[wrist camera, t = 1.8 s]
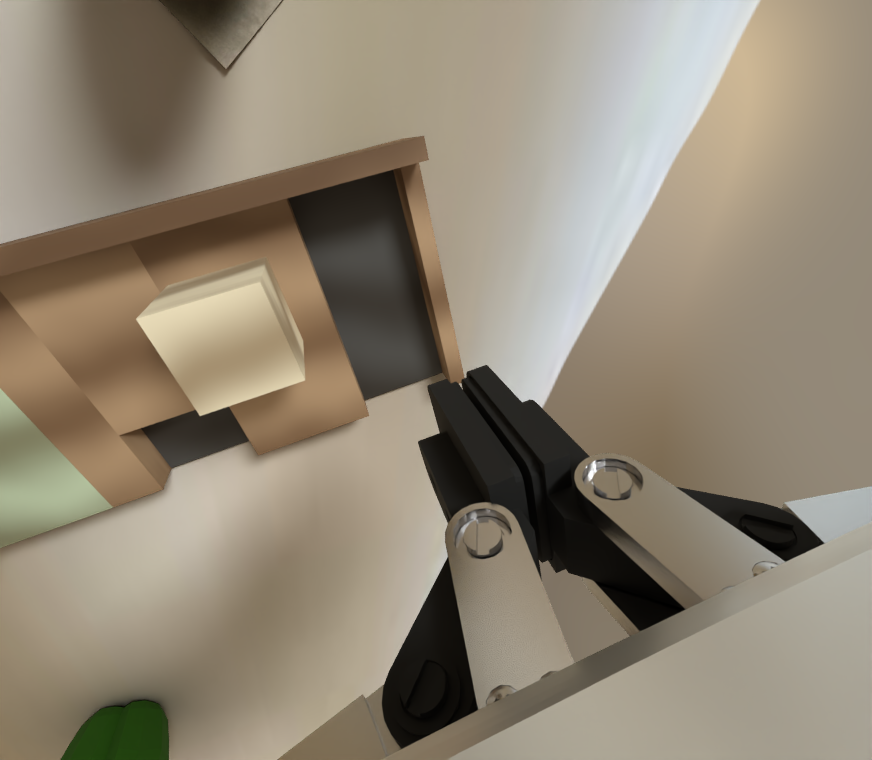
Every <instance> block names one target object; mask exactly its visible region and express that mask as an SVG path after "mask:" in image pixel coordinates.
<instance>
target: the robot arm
mask: <svg viewBox="0 0 872 760" xmlns="http://www.w3.org/2000/svg"><path fill="white" fill-rule="evenodd" d="M461 383H462V388H463V390H462V388H461V387H460V385H459V384H458V383H457V382H453V383H450V382H449V380H448V379H445V380H442V381H440V382H437V383H434V384H431V385H428V392H429V395H430V399H431V403H432V406H433V410H434V413H435V417H436V421H437V424H438V428H439V432H440V433H439V434H437V435H434V436H431V437H428V438H426V439H423V440H420V441H418V444H419V447H420V451H421V454H422V457H423V460H424V463H425V466H426V469H427V472H428V475H429V478H430V480H431V483H432V486H433V488H434V491H435V493H436V496H437V498H438V501H439V503H440V505H441V508H442V510H443V513H444V515H445V517H446V520H447V522H448V526H447V529H446V531H445V543H446V548H447V553H448V558H447V560H446V562H445V564H444V566H443V568H442V569H441V571H440V573H439V575H438V577H437V579H436V581H435V583H434V585H433V587H432V589H431V591H430V593H429V595H428V597H427V599H426V601H425V603H424V604H423V606H422V608H421V610H420V612H419V614H418V616H417V618H416V620H415V622H414V624H413V626H412V628H411V630H410V632H409V634H408V636H407V638H406V639H405V641H404V643H403V645H402V647H401V649H400V651H399V653H398V655H397V657H396V659H395V661H394V663H393V665H392V667H391V669H390V671H389V673H388V676H387V678H386V681H385V684H384V685H383V686H381V687H380V688H379V689H378V690H376V691H375V692H374V693H372V694H371V695H370V696H369V697H367V698H366V699H365V697H364V696H363V694H362V695H361V696H360V697H358V698H357V699H356V700H355V701H353V702H352V703H351V704H349V705H348V706H347V707H345V708H344V709H343V710H341V711H340V712H339V713H338V714H336V715H335V716H334V717H332V718H331V719H330V720H328V721H327V722H326V723H325V724H323V725H322V726H321V727H319V728H318V729H317V730H315V731H314V732H313V733H311V734H310V735H309V736H308V737H306V738H305V739H304V740H302V741H301V742H300V743H298V744H297V745H296V746H294V747H293V748H292V749H291V750H289V751H288V752H287V753H285V754H284V755H283V756H281V757H280V758H279V759H278V760H872V486H871V487H866V488H860V489H855V490H849V491H844V492H839V493H833V494H827V495H822V496H817V497H811V498H806V499H800V500H796V501H790V502H784V504H783V507H782V508H781V509H780V508H778V507H774V506H771V505H767V504H764V503H759V502H754V501H748V500H743V499H738V498H732V497H727V496H722V495H716V494H711V493H706V492H700V491H695V490H690V489H684V488H679V487H675V486H673V485H672V484H670V483H669V482H667V481H666V480H664V479H663V478H661V477H660V476H659V475H657V474H656V473H654V472H653V471H651V470H650V469H648V468H647V467H645V466H644V465H642V464H641V463H639V462H638V461H636V460H634V459H631V458H630V457H627V456H623V455H620V454H611V453H604V454H597V455H594V456H591V457H589V456H588V455H587V453H585V451H584V450H582V448H581V447H580V446H579V445H578V444H577V443H575V442H574V440H572V438H571V437H570V436H569V435H568V434H567V433H566V432H565V431H564V430H563V429H562V428H561V427H560V426H559V425H558V424H557V423H556V422H555V421H554V420H553V419H552V418H551V417H550V416H549V415H548V414H547V413H546V412H545V411H544V410H543V409H542V408H541V407H540V406H539V405H538V404H537V403H536V402H535V401H533V400H528V401H525V402H521V401H520V400H519V399H518V398H517V397H516V396H515V395H514V393H513V392H512V391H511V390H510V389H509V388H508V387H507V386H506V385H505V384H504V383H503V382H502V381H501V380H500V378H499V377H498V376H497V375H496V374H495V373H494V372H493V371H492V370H491V369H490V368H489V367H488V366H487V365H485V366H482V367H479V368H476V369H474V370H471V371H468V372H467V378H464V379H462V380H461ZM539 560H540V561H541V562H542V563H543V562H545V561H547V560H548V561H549V562H550V564H551V566H552V567H553V569H554V570H555V572H556V573H557V572H560V571H562V570H564V569H566V570H567V571H568V573H571V574H574V575H578V576H580V577H582V581H583V583H584V584H585V585H586V587H587V588H588V590H589V591H590V592H591V593H592V594H593V595H594V597H595V598H596V599H597V600H598V601H599V602H600V603H601V604H602V605H603V607H604V608H605V609H606V610H607V611H608V612H609V613H610V615H611V616H612V617H613V618H614V619H615V620H616V621H617V622H618V623H619V624H620V626H621V627H622V628H623V629H624V630H625V631H626V632H627V634H628V635H629V636H630V637H628V638H626V639H624V640H622V641H620V642H617V643H615V644H613V645H611V646H609V647H607V648H605V649H603V650H601V651H599V652H597V653H595V654H593V655H591V656H588V657H586V658H584V659H582V660H580V661H578V662H576V663H574V661H573V659H572V656H571V654H570V651H569V649H568V646H567V644H566V641H565V639H564V636H563V634H562V631H561V629H560V626H559V624H558V621H557V619H556V616H555V613H554V611H553V609H552V606H551V603H550V601H549V599H548V596H547V593H546V591H545V588H544V586H543V583H542V580H541V573H540V565H539Z"/></svg>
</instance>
